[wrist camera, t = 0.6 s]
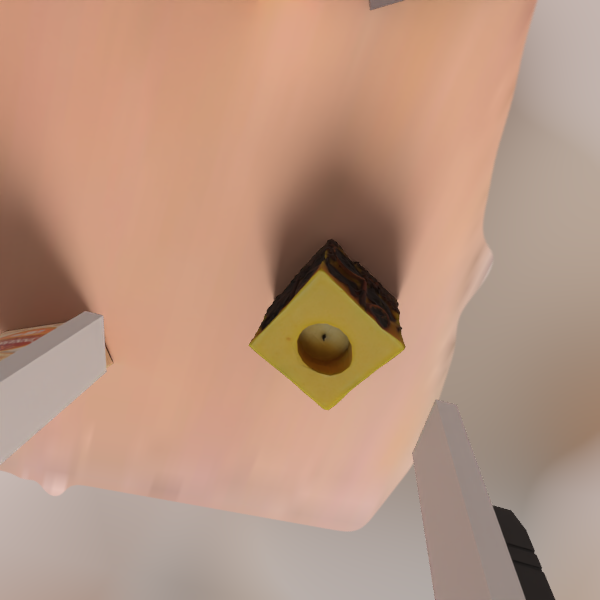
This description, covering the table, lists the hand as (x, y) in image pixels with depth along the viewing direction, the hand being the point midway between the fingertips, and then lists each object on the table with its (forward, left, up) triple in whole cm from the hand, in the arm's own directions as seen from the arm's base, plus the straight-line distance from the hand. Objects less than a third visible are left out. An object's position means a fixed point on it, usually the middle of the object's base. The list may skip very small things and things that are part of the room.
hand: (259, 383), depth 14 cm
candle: (+7, 0, -26) cm, 26 cm away
